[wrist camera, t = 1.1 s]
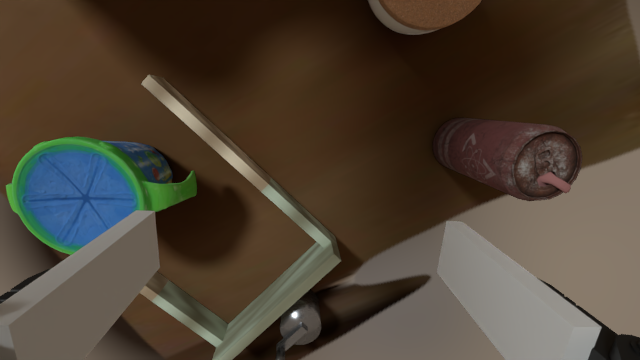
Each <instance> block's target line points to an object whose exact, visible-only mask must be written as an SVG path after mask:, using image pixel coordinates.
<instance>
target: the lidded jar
mask: <svg viewBox="0 0 640 360" xmlns="http://www.w3.org/2000/svg"><path fill="white" fill-rule="evenodd" d="M481 1H482V0H368V2H369V5H370V7H371V9H372V11H373V12H374V14H375V16H376V17H377V18H378V19H379V20H380V22H382V23H383V24H384V25H385V26H386V27H388V28H390V29H391V30H393V31H396V32H398V33H402V34H408V35H420V34H425V33H430V32H433V31H436V30H439V29H441V28H444V27H447V26H450V25H452V24H454V23H456V22H457V21H459V20H461V19H463V18H464V17H465V16H467V15H468V14H469V13H471V12H472V11H473V10H474V9H475V8H476V7H477V6H478V5H479V3H480V2H481Z"/></svg>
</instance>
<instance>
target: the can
mask: <svg viewBox="0 0 640 360" xmlns="http://www.w3.org/2000/svg"><path fill="white" fill-rule="evenodd" d="M433 152H434V155H435V158H436V159H437V160H438V162H439V163H440V164H442V165H443V166H445V167H447V168H449V169H452V170H454V171H456V172H458V173H461V174H463V175H465V176H468V177H470V178H472V179H475V180H477V181H479V182H481V183H484V184H486V185H488V186H491V187H493V188H495V189H497V190H500V191H502V192H504V193H507V194H509V195H511V196H513V197H516V198H518V199H522V200H527V201H534V200H547V199H551V198H553V197H556V196H558V195H560V194H562V193H563V192H564V193H567V192H569V190H570V186H571V185H572V183H573V182H574V181H575V180H576V178H577V176H578V173H579V171H580V169H581V163H582V153H581V148H580V146H579V144H578V143H577V141H576V139H575V138H573V137H572V136H571V135H569V134H568V133H566V132H565V131H564V130H562V129H561V128H559V127H555V126H551V125H544V124H532V123H520V122H508V121H497V120H485V119H473V118H454V119H452V120H450V121H447V122H446V123H445V124H443V125H442V126H441V127H440V128H439V130H438V131H437V133H436V134H435V137H434V141H433Z"/></svg>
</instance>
